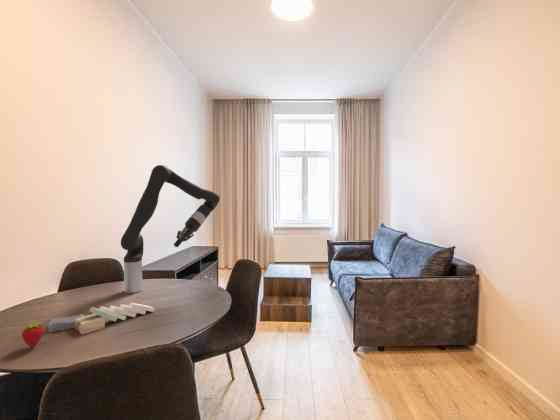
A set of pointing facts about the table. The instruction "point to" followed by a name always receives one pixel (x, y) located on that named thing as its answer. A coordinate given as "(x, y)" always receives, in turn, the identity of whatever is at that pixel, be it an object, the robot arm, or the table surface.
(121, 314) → the domino
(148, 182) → the robot arm
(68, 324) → the stone block
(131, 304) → the domino
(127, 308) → the domino
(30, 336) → the strawberry
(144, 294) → the table surface
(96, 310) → the domino
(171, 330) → the table surface
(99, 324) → the stop block
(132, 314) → the domino
